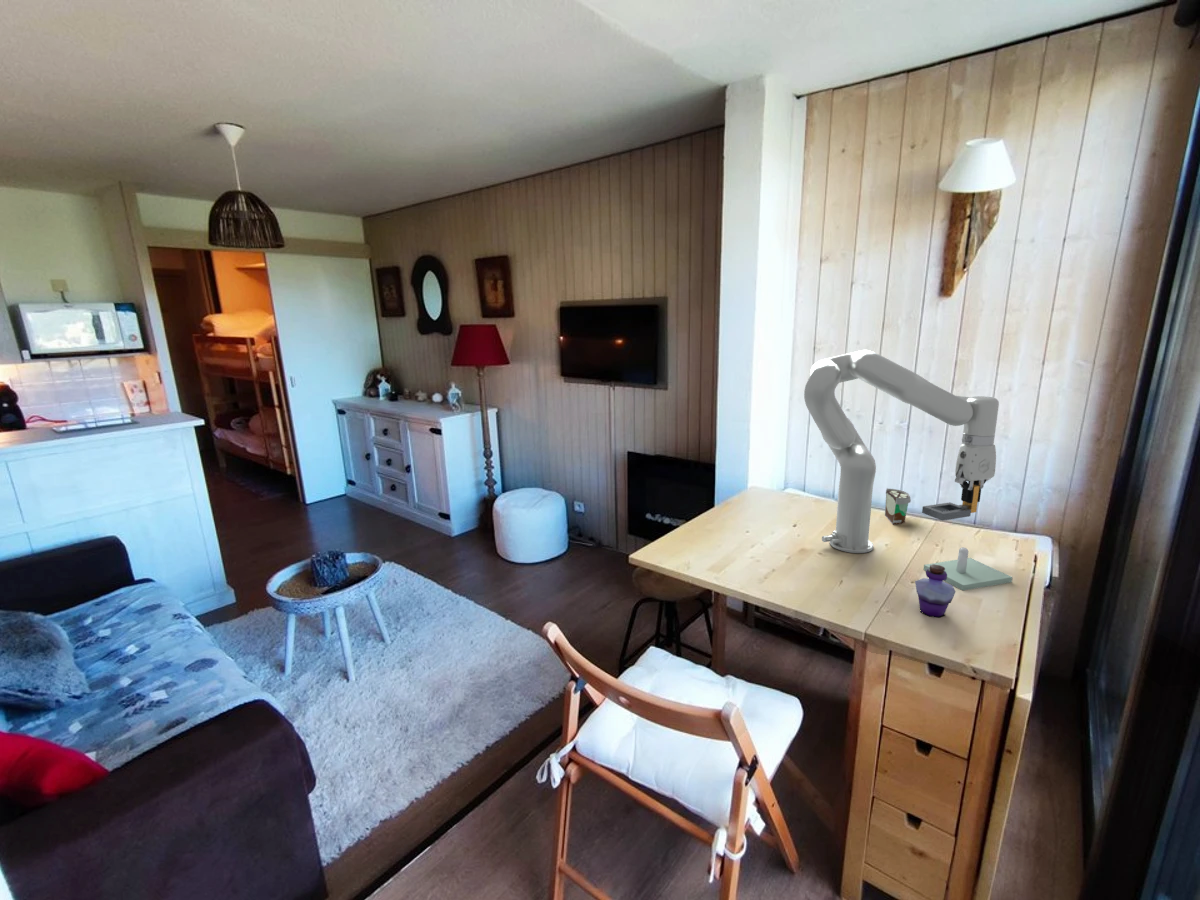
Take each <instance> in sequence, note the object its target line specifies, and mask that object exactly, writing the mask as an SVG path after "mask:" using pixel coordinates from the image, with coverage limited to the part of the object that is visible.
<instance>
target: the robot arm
mask: <svg viewBox="0 0 1200 900" xmlns="http://www.w3.org/2000/svg"><path fill="white" fill-rule="evenodd" d="M857 379H859V380H861V381H863V382H864V383H866V384H869V385H871V386H872V387H874V388H876V389H878V390H880V391H882V392H884V393H885V394H887V395H889V396H891V397H893V398H895V399H896V400H899V401H900V402H903V403H905V404H907V405H910V406H912V407H914V408H917V409H919V410H921V411H922V412H924V413H926V414H928V415H930V416H932V417H934V418H936V419H937V420H940V421H941V422H944V423H945V424H948V425H949V426H953V427H958V426H963V431H962V438H961V444H960V446H959V450H958V453H957V456H956V457H957V458H956V463H955V469H954V475H955V479H954V483H957V484H959V485H960V487H961V489H962V490H961V497H960V500H961V501H962V502H963V501H964V502H967V503H972V502H973V494H974V490H972V488H973V484H974V485H978V486H980V487H979V493H978V502H977V503H979V502H980V501H981V495H982V494H981V493H982V490H983V488H984V485H985V483H986V482H987V481H989V480H991V479H992V478H994V477H995V474H996V467H997V464H996V463H997V449H996V445H995V444H994V443H995V436H996V430H997V429H996V428H997V421H998V414H999V406H1000V402H999V400H998V399H997V398H996V397H992V396H991V397H990V396H985V395H984V396H961V395H955V394H953V393H951V392H949V391H947V390H945V389H943V388H942V387H939V386H937V385H935V384H934V383H932V382H931V381H928V380H927V379H926V378H924V377H923V376H921V375H920V374H917V373H916V372H914V371H913V370H910V369H908V368H906V367H904V366H902V365H900V364H899V363H896V362H894V361H892V360H891V359H889V358H888V357H887V358H886V357H885V356H883V355H881V354H878V353H876V352H874V351H871V350H868V349H862V350H858V351H853V352H849V353H845V354H844V353H843V354H841V355H836V356H832V357H827V358H824V359H820V360H818V361H816V362H815V363H814V364H813V365H812V366H811V368H810V372H809V378H808V379H807V381H806V384H805V387H804V390H803V391H804V393H803V396H804V402H805V406H806V409H807V410H808V412H809V414H810V416H811V418H812V419H813V421H814V423H815V424H816V427H817V428H818V430H819V432H820V434H821V436H822V438H823V441H824V442H825V443H826V444H827V445H828V447H829V449H830V450H831V452H832V454H833V455H834V457H835V458H836V460H837V462H838V463H839V467H840V473H839V475H840V476H839V482H838V483H839V484H838V492H837V495H838V496H837V507H836V509H837V510H836V520H835V521H836V522H835V523H836V524H835V530H833V531H832V533H831V534H830V535H822V536H821V541H822V543H827V542H828V543H829V544H830V546H831V547H833V549H836V550H839V551H842V552H845V553H850V554H864V553H869V552H871V551H873V549H874V543H873V542H872V541H870V540H869V537H870V526H871V525H870V524H871V516H872V515H871V514H872V513H871V512H872V499H873V489H874V482H875V478H876V472H877V471H876V470H877V465H876V460H875V458H874V456H873V455H872V453H871V452H870V450H869V448H867V446H866V444H865V443H864V441H863V439H862V438H861V436H860V434H859V433H858V430H857V429H856V427H855V426H854V424H853V422H852V420H851V419H850V418H849V417H847V415H846V413H845V412H844V411H843V408H842V406H841V405H840V403H839V401H838V400H837V398H836V394H835V392H836V388H837V387H838V385H839V384H840V383H844V382H845V383H846V382H850V381H853V380H857Z"/></svg>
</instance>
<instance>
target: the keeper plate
mask: <svg viewBox="0 0 1200 900" xmlns="http://www.w3.org/2000/svg"><path fill="white" fill-rule="evenodd" d="M933 564H935V565H940V566H943V567H944V568H945V570H944V571H945V572H946V573H947V579H946V580H943V582H946V583H948V584H950V585H952V586H953V587H955V588H958V589H959V590H961V591H967V590H969V591H970V590H974V589H980V588H985V587H991V586H997V585H1002V584H1009V583H1013V576H1011V575H1008V574H1007V573H1005V572H1004V571H1003V572H1002V571H1000V570H998V569H995V568H993V567H991V566H989V565H987V564H985V563H983V562H980V561H979V560H976V559H975V558H973V557H969V550H968V548H967V547H960V548H959V549H958V553H957V559H952V560H946V561H939V562H934V563H933V562H932V563H927V564H923V570H924V571H925V572H926V569H929V568H930V565H933Z"/></svg>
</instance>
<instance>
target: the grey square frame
mask: <svg viewBox="0 0 1200 900" xmlns="http://www.w3.org/2000/svg"><path fill="white" fill-rule="evenodd" d="M979 487H980V486H978V485H974V484H973V488H972V490H974V494H973V502H972V503H967V502H964V501H962V504H955V503H953V502H944V503H936V504H930V505H924V506H922V509H921V510H922V511H921V513H922V514H924V515H925V516H929V517H932V518H934V519H936V520H939V521H942V522H943V521H949V520H955V519H956V520H957V519H963V518H968V517H971V514H973V513H977V509H978V503H979V502H978V493H979Z"/></svg>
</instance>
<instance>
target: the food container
mask: <svg viewBox="0 0 1200 900" xmlns="http://www.w3.org/2000/svg"><path fill="white" fill-rule="evenodd" d="M911 502H912V500H911V495H910V494H909V493H908V492H907V491H905V490H904V491H903V490H901V489H897V488H896V489H895V488H888V487H887V488H886V490H885V505H884V506H885V509H884V516H885V517H886V519H887V520H888V521H889V522H890V524H892V525H894V526H898V525H900V526H901V525H903V524H904V523H905V522H906V518H907V511H908V506H909V504H910V503H911Z"/></svg>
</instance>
